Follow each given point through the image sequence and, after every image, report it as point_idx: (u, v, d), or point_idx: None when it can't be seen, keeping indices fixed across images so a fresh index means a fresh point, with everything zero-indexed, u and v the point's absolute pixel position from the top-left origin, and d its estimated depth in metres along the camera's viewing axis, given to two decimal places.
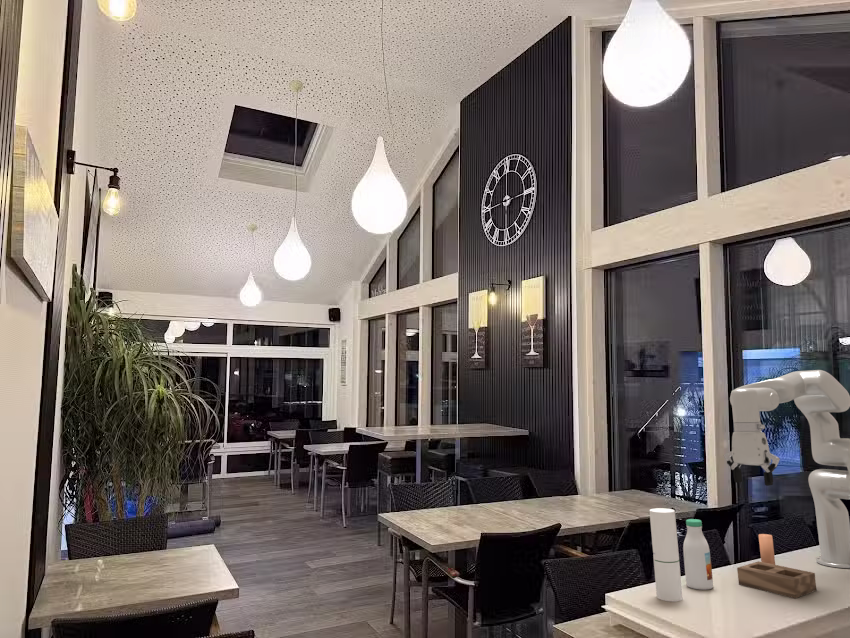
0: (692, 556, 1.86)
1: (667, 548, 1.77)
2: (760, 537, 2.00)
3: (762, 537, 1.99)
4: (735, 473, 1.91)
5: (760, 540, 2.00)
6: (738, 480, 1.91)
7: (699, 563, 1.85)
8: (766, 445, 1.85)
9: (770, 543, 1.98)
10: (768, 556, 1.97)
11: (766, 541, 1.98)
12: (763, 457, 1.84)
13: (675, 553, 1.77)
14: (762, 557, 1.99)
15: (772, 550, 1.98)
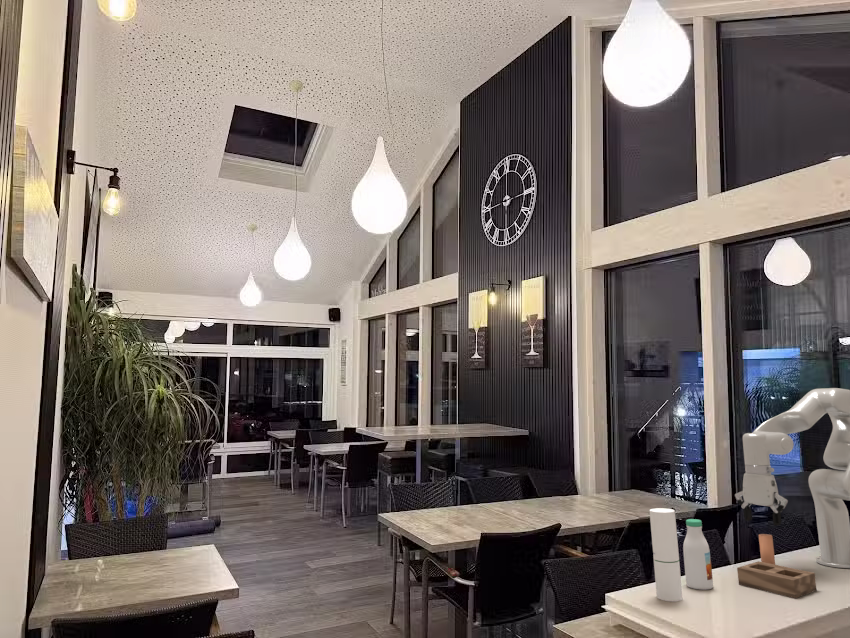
0: (692, 556, 1.86)
1: (667, 548, 1.77)
2: (760, 537, 2.00)
3: (762, 537, 1.99)
4: (745, 512, 2.04)
5: (760, 540, 2.00)
6: (748, 518, 2.04)
7: (699, 563, 1.85)
8: (775, 487, 1.99)
9: (770, 543, 1.98)
10: (768, 556, 1.97)
11: (766, 541, 1.98)
12: (772, 499, 1.97)
13: (675, 553, 1.77)
14: (762, 557, 1.99)
15: (772, 550, 1.98)
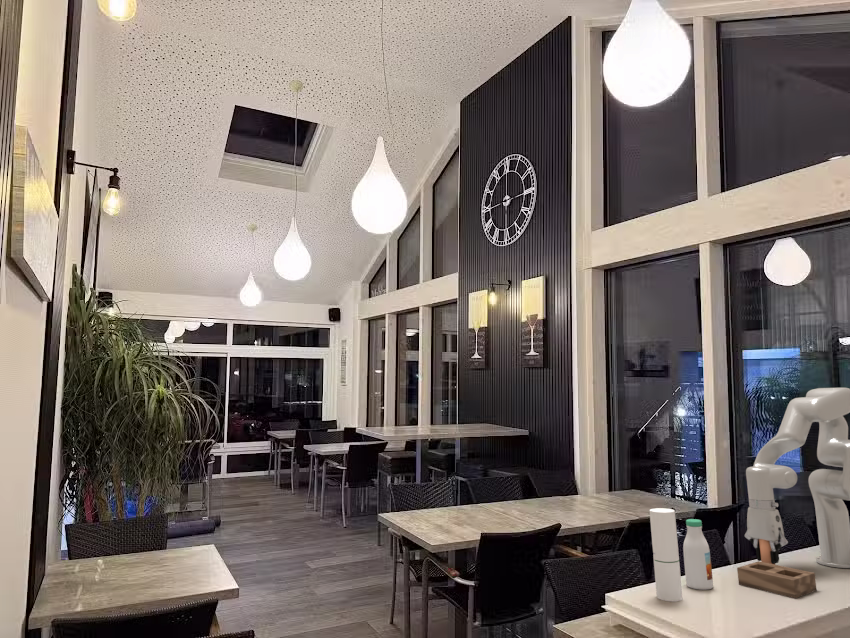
0: (692, 556, 1.86)
1: (667, 548, 1.77)
2: None
3: None
4: (758, 552, 2.00)
5: (760, 540, 2.00)
6: None
7: (699, 563, 1.85)
8: (780, 522, 1.97)
9: None
10: (768, 556, 1.97)
11: (766, 541, 1.98)
12: (777, 534, 1.95)
13: (675, 553, 1.77)
14: (762, 557, 1.99)
15: None
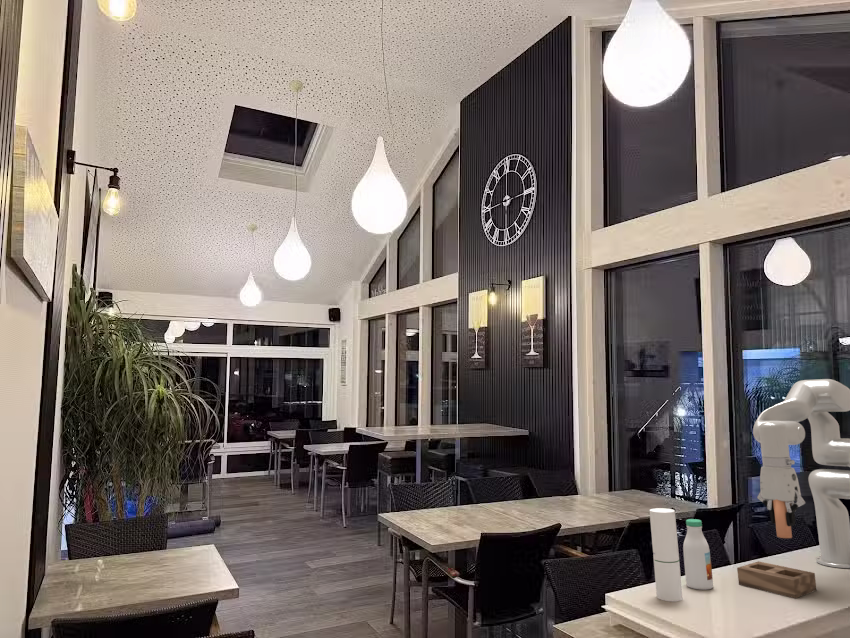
0: (692, 556, 1.86)
1: (667, 548, 1.77)
2: None
3: None
4: (772, 514, 1.84)
5: (774, 501, 1.84)
6: None
7: (699, 563, 1.85)
8: (796, 481, 1.81)
9: None
10: (783, 518, 1.81)
11: (781, 501, 1.82)
12: (793, 494, 1.79)
13: (675, 553, 1.77)
14: (776, 519, 1.83)
15: None
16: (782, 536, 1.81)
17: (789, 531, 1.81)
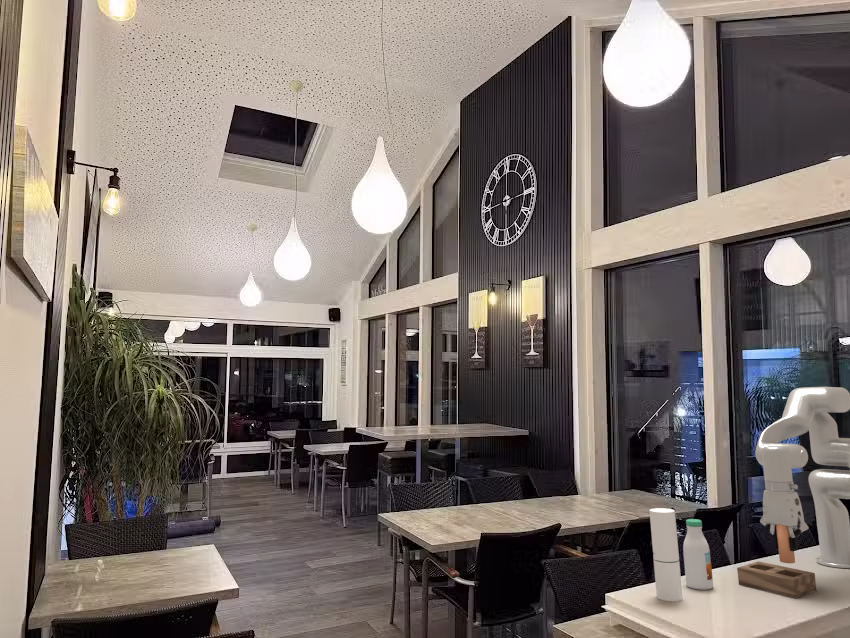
0: (692, 556, 1.86)
1: (667, 548, 1.77)
2: None
3: None
4: (775, 538, 1.83)
5: (777, 525, 1.82)
6: None
7: (699, 563, 1.85)
8: (799, 506, 1.80)
9: (788, 529, 1.81)
10: (786, 543, 1.80)
11: (784, 526, 1.81)
12: (796, 519, 1.78)
13: (675, 553, 1.77)
14: (779, 544, 1.82)
15: None
16: (785, 561, 1.80)
17: (792, 556, 1.80)
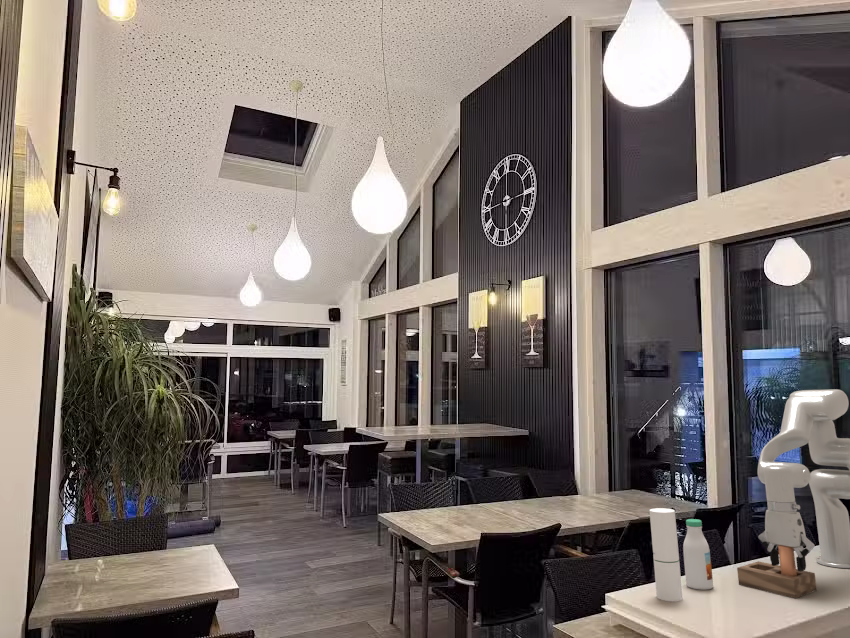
0: (692, 556, 1.86)
1: (667, 548, 1.77)
2: (780, 548, 1.81)
3: (782, 548, 1.81)
4: (772, 556, 1.84)
5: (780, 551, 1.82)
6: (775, 563, 1.84)
7: (699, 563, 1.85)
8: (802, 526, 1.79)
9: (791, 554, 1.80)
10: (789, 568, 1.79)
11: (787, 552, 1.80)
12: (799, 539, 1.77)
13: (675, 553, 1.77)
14: (782, 570, 1.81)
15: (793, 562, 1.80)
16: None
17: None
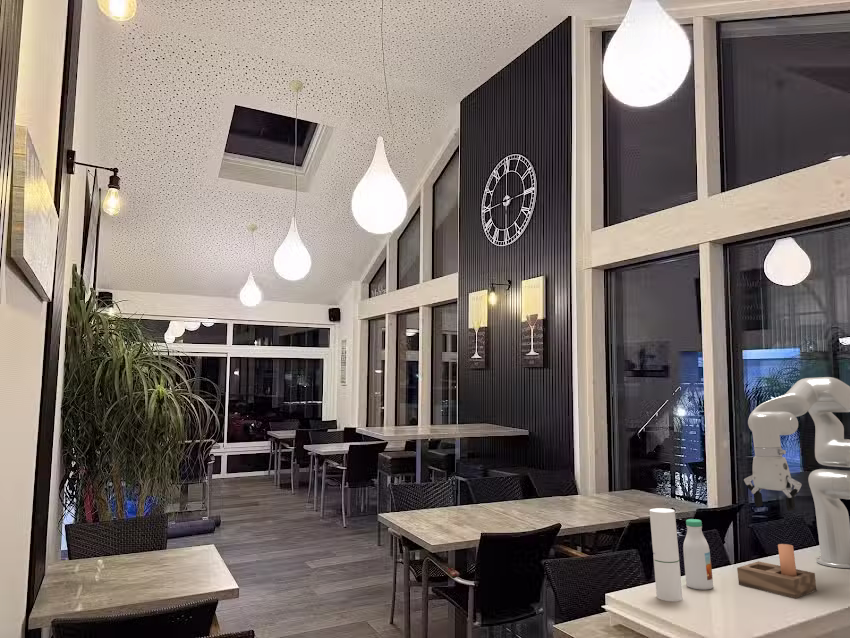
0: (692, 556, 1.86)
1: (667, 548, 1.77)
2: (780, 547, 1.82)
3: (782, 548, 1.81)
4: (756, 497, 1.92)
5: (780, 551, 1.82)
6: (759, 504, 1.92)
7: (699, 563, 1.85)
8: (787, 470, 1.87)
9: (791, 554, 1.80)
10: (789, 568, 1.79)
11: (787, 551, 1.80)
12: (785, 482, 1.85)
13: (675, 553, 1.77)
14: (782, 569, 1.81)
15: (793, 562, 1.80)
16: None
17: None
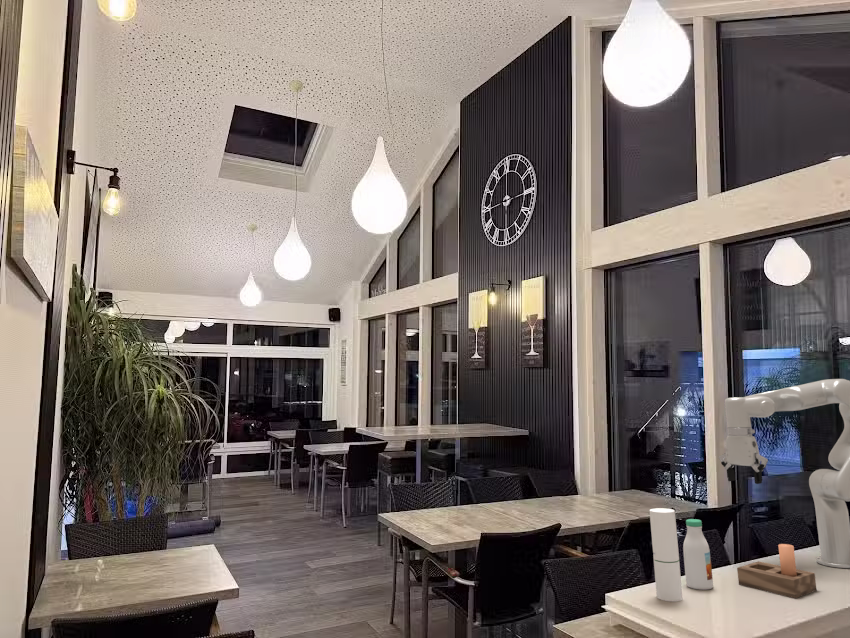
0: (692, 556, 1.86)
1: (667, 548, 1.77)
2: (780, 548, 1.82)
3: (783, 548, 1.81)
4: (728, 473, 2.13)
5: (780, 551, 1.82)
6: (731, 479, 2.13)
7: (699, 563, 1.85)
8: (756, 448, 2.08)
9: (791, 554, 1.80)
10: (789, 568, 1.79)
11: (787, 552, 1.80)
12: (753, 458, 2.06)
13: (675, 553, 1.77)
14: (783, 570, 1.81)
15: (794, 562, 1.80)
16: None
17: None
